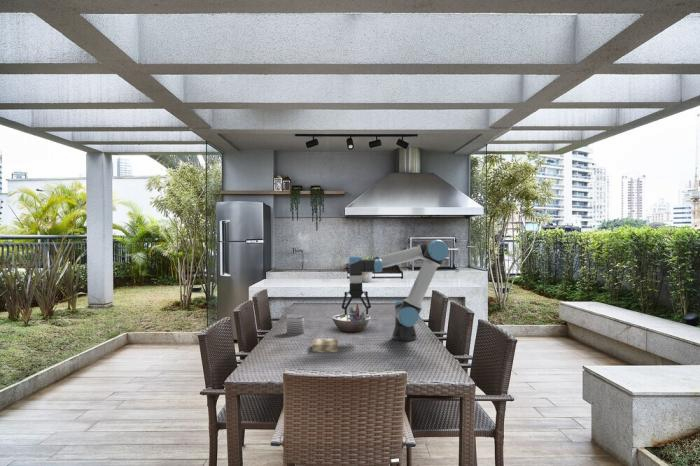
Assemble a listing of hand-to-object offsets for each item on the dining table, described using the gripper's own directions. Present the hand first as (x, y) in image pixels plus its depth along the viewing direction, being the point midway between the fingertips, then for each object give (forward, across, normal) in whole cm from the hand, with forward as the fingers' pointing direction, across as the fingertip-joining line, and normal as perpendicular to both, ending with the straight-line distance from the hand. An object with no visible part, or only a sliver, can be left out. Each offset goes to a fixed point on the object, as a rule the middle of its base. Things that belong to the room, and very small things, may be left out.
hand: (356, 320), depth 282 cm
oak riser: (+13, +19, +13) cm, 26 cm away
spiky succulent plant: (+2, 0, -1) cm, 2 cm away
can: (+13, +38, -30) cm, 50 cm away
